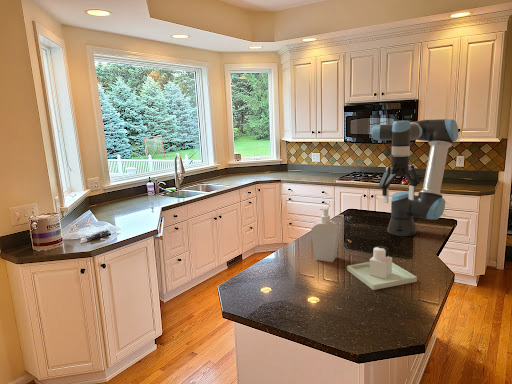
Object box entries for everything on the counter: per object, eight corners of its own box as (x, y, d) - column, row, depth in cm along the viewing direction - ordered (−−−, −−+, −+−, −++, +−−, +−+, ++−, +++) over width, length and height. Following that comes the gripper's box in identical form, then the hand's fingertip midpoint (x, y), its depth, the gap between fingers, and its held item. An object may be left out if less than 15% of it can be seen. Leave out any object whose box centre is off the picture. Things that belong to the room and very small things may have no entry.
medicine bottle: (375, 269, 157) (376, 243, 155) (391, 273, 153) (392, 246, 150) (368, 275, 152) (369, 248, 149) (385, 279, 147) (386, 251, 145)
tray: (386, 263, 164) (386, 259, 164) (416, 281, 145) (416, 276, 145) (347, 270, 159) (347, 265, 159) (373, 289, 140) (373, 285, 140)
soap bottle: (341, 255, 176) (341, 204, 170) (336, 263, 167) (336, 209, 161) (316, 252, 181) (316, 202, 176) (310, 260, 172) (310, 207, 167)
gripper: (417, 152, 170) (415, 196, 174) (371, 156, 163) (370, 202, 168) (429, 154, 163) (427, 199, 167) (381, 158, 156) (380, 205, 160)
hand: (398, 201), depth 167 cm, fingers open, 13 cm apart
